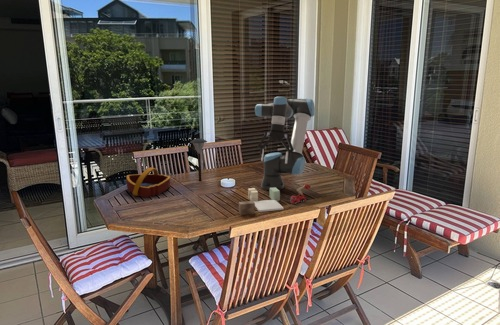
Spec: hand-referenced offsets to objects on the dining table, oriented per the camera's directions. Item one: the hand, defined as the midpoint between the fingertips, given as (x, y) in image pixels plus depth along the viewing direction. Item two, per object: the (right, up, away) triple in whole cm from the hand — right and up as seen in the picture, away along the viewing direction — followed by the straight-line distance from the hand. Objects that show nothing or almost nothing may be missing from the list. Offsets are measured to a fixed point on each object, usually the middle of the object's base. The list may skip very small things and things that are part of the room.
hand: (274, 162), depth 206 cm
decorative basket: (-81, -19, +38) cm, 92 cm away
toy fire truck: (+16, -24, +13) cm, 31 cm away
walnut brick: (-15, -28, -5) cm, 32 cm away
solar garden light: (-49, -13, +59) cm, 78 cm away
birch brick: (-12, -23, +17) cm, 31 cm away
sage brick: (+1, -22, +18) cm, 29 cm away
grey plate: (-3, -25, +5) cm, 26 cm away
